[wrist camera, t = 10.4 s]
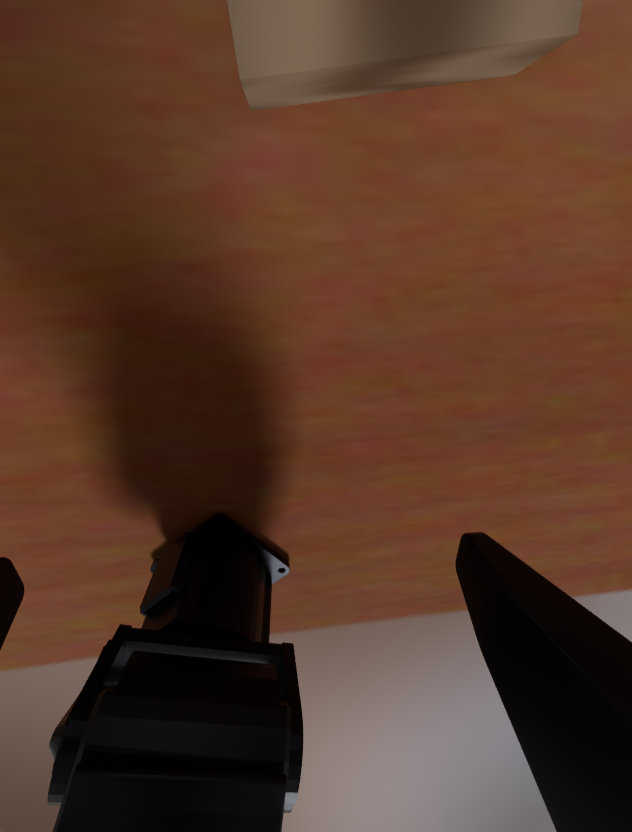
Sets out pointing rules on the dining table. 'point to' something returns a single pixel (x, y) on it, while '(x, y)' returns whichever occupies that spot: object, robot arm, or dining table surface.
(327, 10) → the beige block
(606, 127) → the dining table surface
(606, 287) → the dining table surface
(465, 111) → the dining table surface
